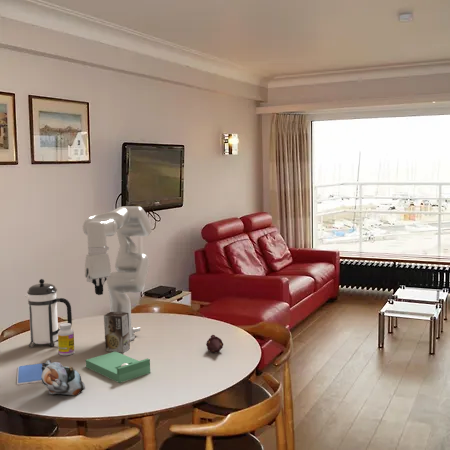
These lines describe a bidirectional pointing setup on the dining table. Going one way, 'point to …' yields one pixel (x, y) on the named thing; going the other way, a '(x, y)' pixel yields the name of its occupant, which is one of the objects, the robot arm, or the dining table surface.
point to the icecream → (214, 344)
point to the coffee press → (44, 313)
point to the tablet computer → (29, 374)
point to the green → (118, 366)
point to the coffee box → (117, 331)
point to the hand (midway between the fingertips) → (99, 294)
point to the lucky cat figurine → (61, 379)
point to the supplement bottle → (65, 339)
